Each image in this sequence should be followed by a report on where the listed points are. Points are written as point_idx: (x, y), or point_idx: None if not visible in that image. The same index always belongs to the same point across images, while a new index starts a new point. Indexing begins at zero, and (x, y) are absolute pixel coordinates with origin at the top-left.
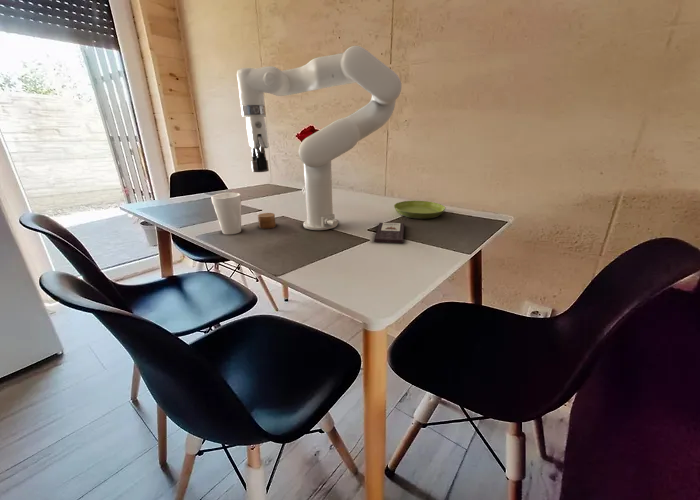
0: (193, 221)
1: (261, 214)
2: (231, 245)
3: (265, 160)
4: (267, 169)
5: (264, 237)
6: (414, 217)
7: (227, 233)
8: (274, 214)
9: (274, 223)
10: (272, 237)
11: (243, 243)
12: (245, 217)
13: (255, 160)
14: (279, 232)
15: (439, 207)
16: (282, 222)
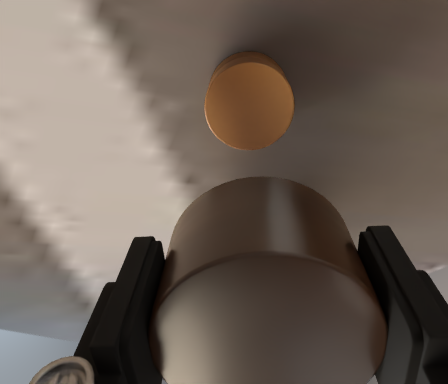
0: (62, 329)
1: (228, 130)
2: (412, 242)
3: (434, 309)
4: (327, 206)
5: (401, 130)
6: None
7: None
8: (258, 62)
9: (275, 63)
10: (423, 99)
11: (418, 207)
12: (52, 165)
13: (234, 382)
14: (373, 55)
15: None
16: (211, 3)
